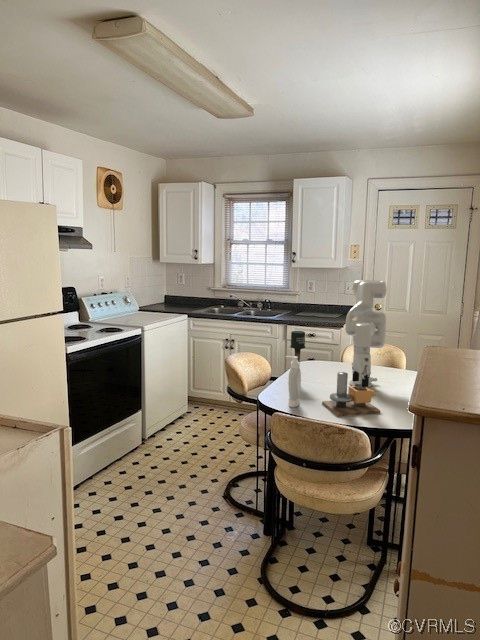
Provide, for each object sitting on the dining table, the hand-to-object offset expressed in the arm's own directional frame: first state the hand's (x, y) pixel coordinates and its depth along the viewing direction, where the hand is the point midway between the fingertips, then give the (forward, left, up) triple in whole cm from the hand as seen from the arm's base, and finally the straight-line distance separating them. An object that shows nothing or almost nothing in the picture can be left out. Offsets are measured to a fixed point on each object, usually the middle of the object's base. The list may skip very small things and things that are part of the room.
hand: (360, 383), depth 230 cm
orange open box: (-2, 0, -8) cm, 8 cm away
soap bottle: (+30, -12, -12) cm, 35 cm away
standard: (+10, 0, -11) cm, 14 cm away
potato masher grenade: (+15, -46, -12) cm, 50 cm away
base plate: (+4, 0, -12) cm, 13 cm away
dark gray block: (0, 0, -11) cm, 11 cm away
